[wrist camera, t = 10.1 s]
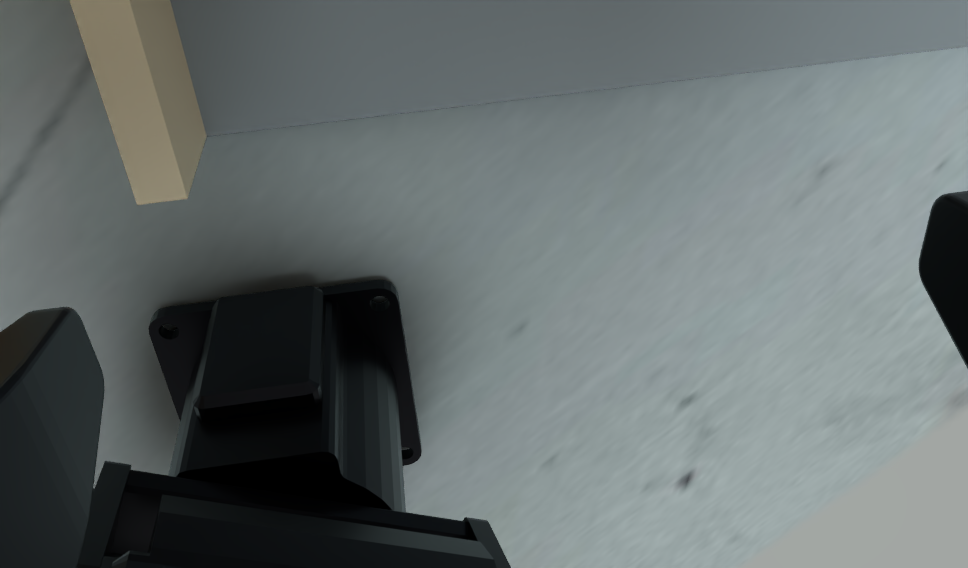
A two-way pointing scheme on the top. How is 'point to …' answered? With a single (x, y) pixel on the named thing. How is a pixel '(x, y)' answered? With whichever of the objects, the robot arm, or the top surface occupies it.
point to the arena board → (440, 58)
